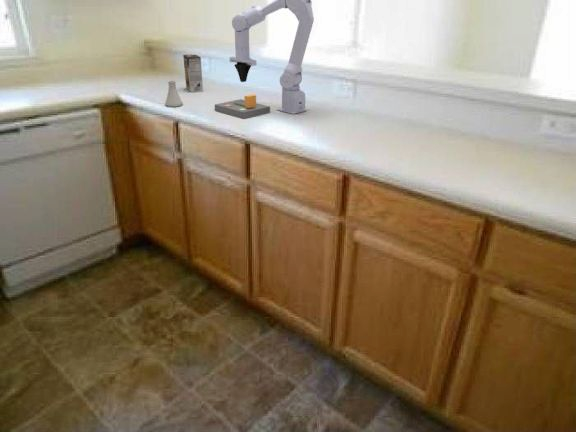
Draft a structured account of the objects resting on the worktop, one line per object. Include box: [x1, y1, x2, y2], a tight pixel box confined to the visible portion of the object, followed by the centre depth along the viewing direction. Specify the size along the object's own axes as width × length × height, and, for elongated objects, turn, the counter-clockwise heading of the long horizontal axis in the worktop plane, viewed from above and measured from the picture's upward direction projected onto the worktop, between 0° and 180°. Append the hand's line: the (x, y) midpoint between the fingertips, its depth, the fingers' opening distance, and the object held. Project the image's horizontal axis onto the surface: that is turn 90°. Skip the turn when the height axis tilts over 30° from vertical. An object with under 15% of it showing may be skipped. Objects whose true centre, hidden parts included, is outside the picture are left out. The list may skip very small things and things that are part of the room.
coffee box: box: [182, 54, 204, 93], centre depth 215 cm, size 9×6×16 cm
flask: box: [164, 80, 184, 108], centre depth 188 cm, size 7×7×10 cm
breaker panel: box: [214, 98, 271, 120], centre depth 182 cm, size 18×14×3 cm
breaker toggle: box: [243, 93, 257, 108], centre depth 177 cm, size 2×4×4 cm, turn 136°
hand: (243, 81), depth 188 cm, fingers closed
